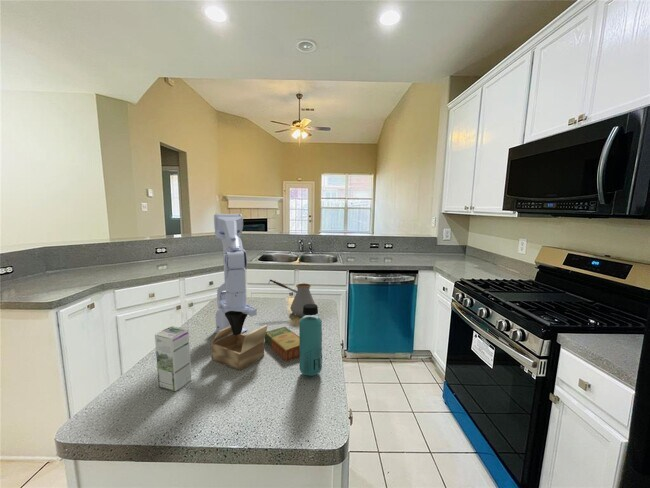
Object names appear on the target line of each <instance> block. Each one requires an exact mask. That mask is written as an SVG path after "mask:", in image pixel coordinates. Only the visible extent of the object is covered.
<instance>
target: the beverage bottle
mask: <svg viewBox="0 0 650 488" xmlns="http://www.w3.org/2000/svg"><path fill="white" fill-rule="evenodd" d="M318 313H319V309H318V304H316V303H315V304H306V305H304V306H303V314H305V316H304V317H301V318H300V319H299V321H298V324H299V328H298V331H299V335H298V336H299V337H300V344H299V359H298V362H299V371H300V373H301V374H302V375H305V376H311V377H312V376H316V375H319V374H320V373H321V372H322V370H323V369H322V368H323V351H322V350H323V348H322V347H323V343H322V342H323V329H322V328H323V327H322V325H323V320H322V319H321V318H320V317H319V316H318Z"/></svg>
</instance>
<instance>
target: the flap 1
mask: <svg viewBox="0 0 650 488" xmlns="http://www.w3.org/2000/svg"><path fill="white" fill-rule="evenodd" d="M232 333H233V332H232V329H231V326H229V327H226V328H224V329H222V330H219V331H218V333H216V335H215V336H214V338H212V340H211V344H212V343H214V342H216V341H219V340H221V339H223V338H225V337H227V336H228V335H230V334H232Z"/></svg>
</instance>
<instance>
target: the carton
mask: <svg viewBox="0 0 650 488" xmlns="http://www.w3.org/2000/svg"><path fill="white" fill-rule="evenodd" d="M264 344H266V345H267V346H269V347H270V348H271V349H272V351H274V352H275V353H276V354H277V355H278V356H279V357H281V358H282V360H284V361H285V362H289V361H292V360H295V359H298V358H299V344H300V337H299V335H298V334H296V333H295V332H293V331H292V330H291V329H290V328H288V327H286V326H282V327H279V328H275V329H272V330H268V331H266V335H265V339H264Z"/></svg>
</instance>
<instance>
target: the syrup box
mask: <svg viewBox="0 0 650 488" xmlns="http://www.w3.org/2000/svg"><path fill="white" fill-rule="evenodd" d="M189 331H190V330H189V329H188V328H182V327H178V326H173V325H172V326H170V327H167V328H165V329H162V330H159V332H157V333H155V334H154V342H155V355H156V356H155V358H156V368H157V381H158V382H157V383H158V388H162V389H165V390H168V391H173V392H177V391H178V390H180V389H181V388H182V387H184V386H185V385H187V384H188V383H189V382H191V381H192V369H191V352H190V332H189Z"/></svg>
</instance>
